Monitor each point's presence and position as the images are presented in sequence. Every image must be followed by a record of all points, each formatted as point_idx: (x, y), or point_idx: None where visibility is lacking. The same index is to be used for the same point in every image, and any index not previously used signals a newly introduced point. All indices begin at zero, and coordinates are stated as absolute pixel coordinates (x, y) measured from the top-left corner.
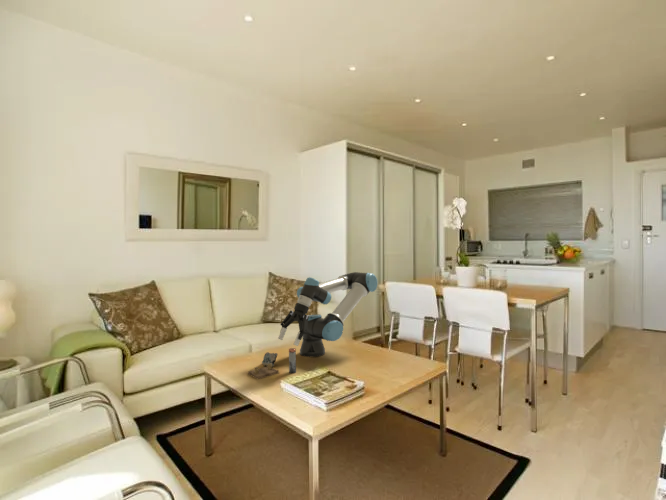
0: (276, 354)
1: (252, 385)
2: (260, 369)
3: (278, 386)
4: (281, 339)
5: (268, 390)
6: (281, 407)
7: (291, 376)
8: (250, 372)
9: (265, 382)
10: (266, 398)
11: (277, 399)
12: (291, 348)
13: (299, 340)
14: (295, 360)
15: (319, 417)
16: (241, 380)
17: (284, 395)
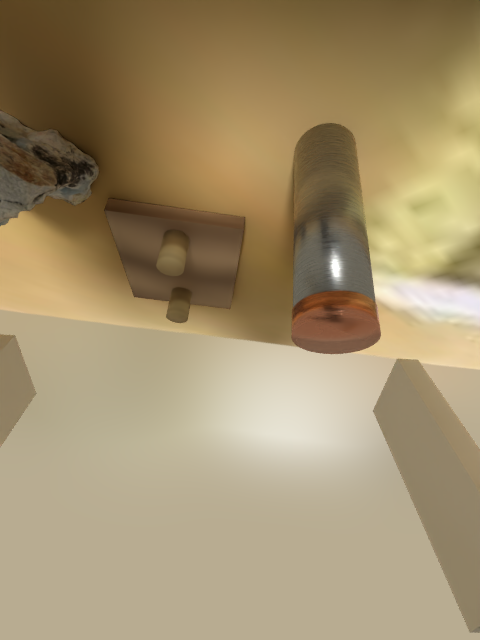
0: (34, 193)
1: (268, 329)
2: (139, 261)
3: None
4: (16, 355)
5: None
6: (470, 366)
7: (369, 215)
8: (152, 297)
9: (289, 305)
10: (389, 355)
11: (432, 351)
12: (310, 330)
13: (459, 441)
14: (365, 226)
15: None
16: (191, 322)
17: (445, 335)
